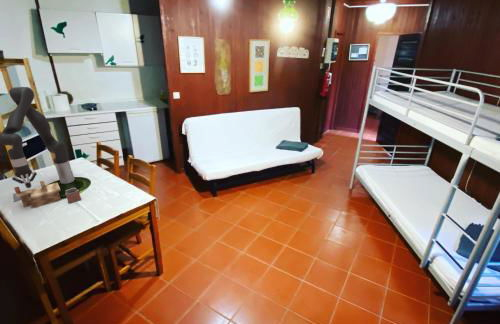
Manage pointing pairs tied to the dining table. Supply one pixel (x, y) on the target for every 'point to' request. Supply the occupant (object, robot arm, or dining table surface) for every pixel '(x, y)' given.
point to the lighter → (72, 195)
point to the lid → (44, 189)
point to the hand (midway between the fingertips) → (29, 187)
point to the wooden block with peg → (19, 193)
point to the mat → (16, 197)
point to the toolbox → (40, 199)
